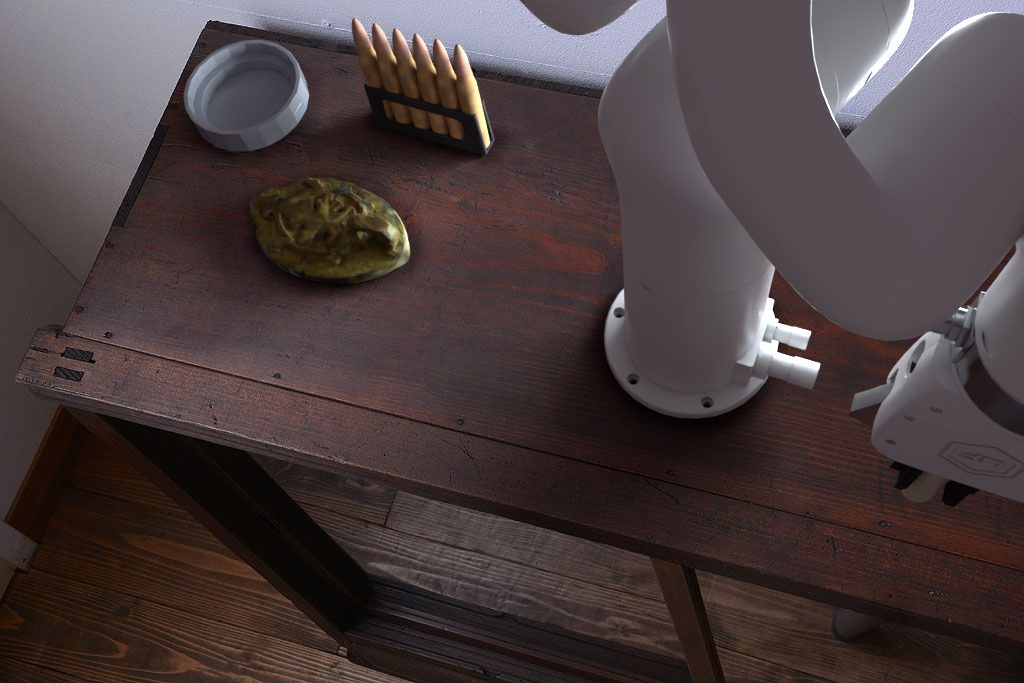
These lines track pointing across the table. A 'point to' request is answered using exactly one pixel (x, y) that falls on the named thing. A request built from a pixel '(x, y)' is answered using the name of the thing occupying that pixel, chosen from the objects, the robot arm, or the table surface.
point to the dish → (246, 95)
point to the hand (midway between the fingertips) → (928, 474)
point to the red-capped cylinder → (924, 487)
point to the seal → (329, 231)
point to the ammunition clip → (422, 90)
